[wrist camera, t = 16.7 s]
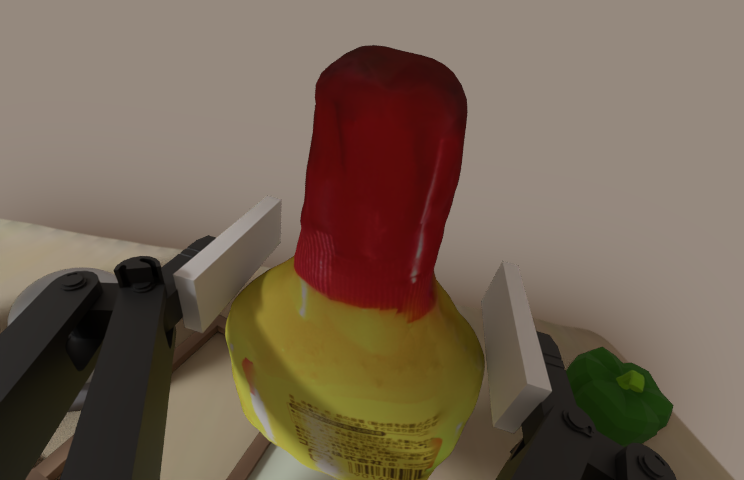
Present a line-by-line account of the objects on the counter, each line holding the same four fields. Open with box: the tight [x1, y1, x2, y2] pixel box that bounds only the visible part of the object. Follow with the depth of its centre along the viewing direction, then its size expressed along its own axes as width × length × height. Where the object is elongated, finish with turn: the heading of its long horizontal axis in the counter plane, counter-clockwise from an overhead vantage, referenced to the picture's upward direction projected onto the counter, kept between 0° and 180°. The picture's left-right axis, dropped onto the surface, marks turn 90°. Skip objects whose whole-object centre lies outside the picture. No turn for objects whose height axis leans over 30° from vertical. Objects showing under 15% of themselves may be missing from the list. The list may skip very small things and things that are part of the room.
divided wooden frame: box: [25, 315, 338, 480], centre depth 28 cm, size 36×18×2 cm, turn 67°
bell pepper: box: [566, 347, 673, 447], centre depth 32 cm, size 8×8×10 cm
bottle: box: [225, 45, 485, 480], centre depth 14 cm, size 12×6×20 cm, turn 75°
